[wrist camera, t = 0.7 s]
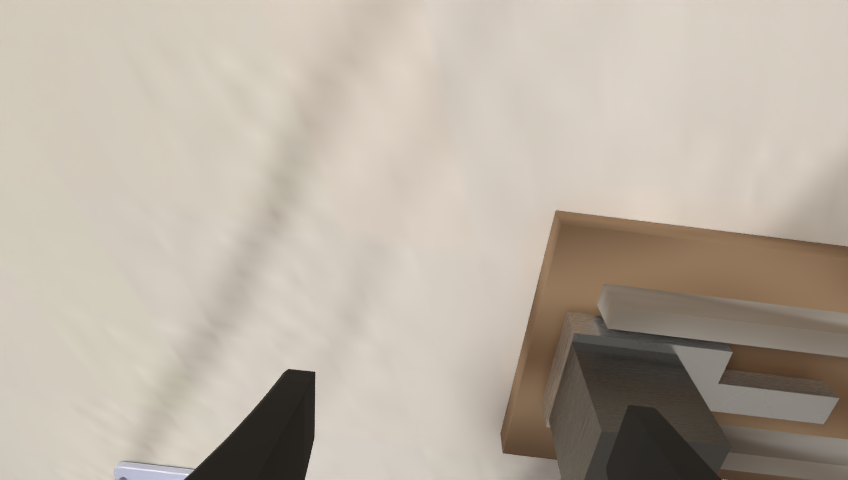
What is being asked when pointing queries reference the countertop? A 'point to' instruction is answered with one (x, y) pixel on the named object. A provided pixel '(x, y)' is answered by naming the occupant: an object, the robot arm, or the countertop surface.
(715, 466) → the plunger
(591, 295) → the base
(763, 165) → the countertop surface
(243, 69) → the countertop surface
